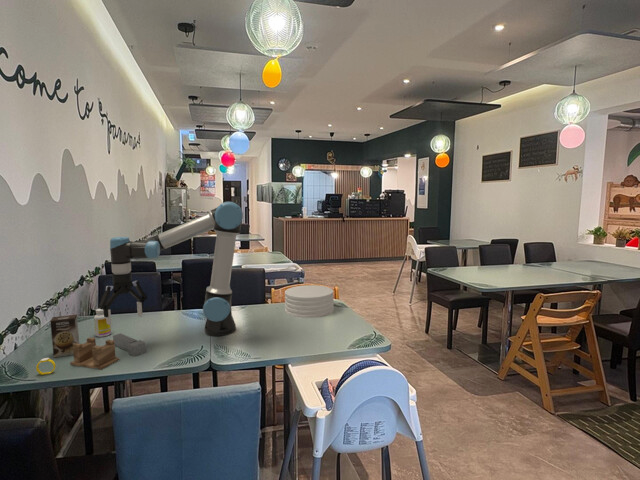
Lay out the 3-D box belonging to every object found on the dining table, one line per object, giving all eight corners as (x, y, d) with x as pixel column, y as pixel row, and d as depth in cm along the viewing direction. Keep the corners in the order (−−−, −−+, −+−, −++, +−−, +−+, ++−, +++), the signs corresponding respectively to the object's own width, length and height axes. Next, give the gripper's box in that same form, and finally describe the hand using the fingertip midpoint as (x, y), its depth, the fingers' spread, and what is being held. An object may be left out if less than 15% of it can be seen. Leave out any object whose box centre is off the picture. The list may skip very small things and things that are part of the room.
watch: (36, 377, 148) (33, 362, 147) (39, 373, 150) (36, 359, 149) (54, 373, 149) (52, 358, 149) (57, 370, 152) (54, 356, 151)
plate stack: (291, 302, 242) (290, 284, 240) (335, 304, 238) (335, 285, 236) (280, 317, 214) (279, 296, 213) (330, 318, 210) (330, 298, 209)
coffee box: (53, 358, 164) (49, 321, 162) (56, 352, 170) (52, 316, 168) (78, 354, 168) (74, 317, 166) (80, 348, 174) (77, 313, 172)
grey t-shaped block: (146, 352, 169) (145, 342, 168) (133, 356, 164) (133, 346, 164) (123, 341, 181) (122, 332, 180) (111, 345, 177) (110, 336, 176)
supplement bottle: (114, 333, 192) (112, 308, 191) (101, 338, 186) (99, 312, 185) (105, 331, 195) (103, 306, 193) (92, 336, 189) (90, 310, 187)
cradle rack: (119, 360, 161) (118, 340, 160) (101, 369, 152) (99, 348, 151) (89, 355, 166) (87, 336, 165) (70, 364, 157) (68, 344, 156)
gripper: (144, 267, 181) (147, 311, 184) (87, 276, 161) (90, 325, 164) (153, 269, 176) (156, 314, 179) (95, 278, 157) (99, 329, 159)
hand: (125, 319), depth 171 cm, fingers open, 13 cm apart
